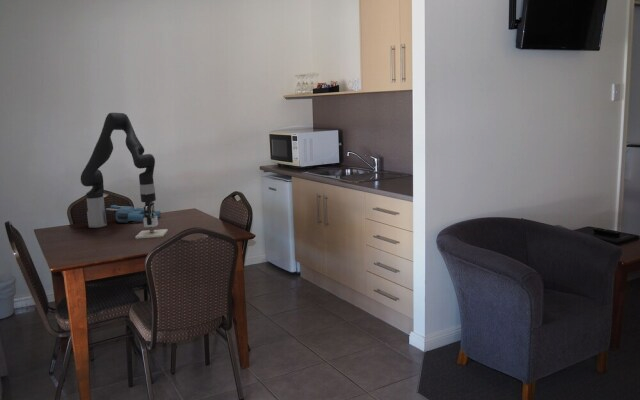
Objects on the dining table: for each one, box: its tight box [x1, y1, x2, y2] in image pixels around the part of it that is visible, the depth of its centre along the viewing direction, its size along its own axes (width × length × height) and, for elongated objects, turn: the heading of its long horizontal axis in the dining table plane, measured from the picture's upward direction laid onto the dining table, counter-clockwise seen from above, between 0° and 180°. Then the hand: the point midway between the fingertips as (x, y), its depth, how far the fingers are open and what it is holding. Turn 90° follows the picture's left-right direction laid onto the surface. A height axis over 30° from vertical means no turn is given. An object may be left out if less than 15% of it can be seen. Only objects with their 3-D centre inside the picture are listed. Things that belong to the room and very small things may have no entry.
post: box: [135, 214, 169, 239], centre depth 300 cm, size 14×14×11 cm
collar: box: [143, 216, 159, 228], centre depth 300 cm, size 6×6×4 cm
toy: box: [105, 204, 162, 224], centre depth 343 cm, size 22×9×30 cm
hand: (150, 223), depth 300 cm, fingers closed on collar, 6 cm apart
